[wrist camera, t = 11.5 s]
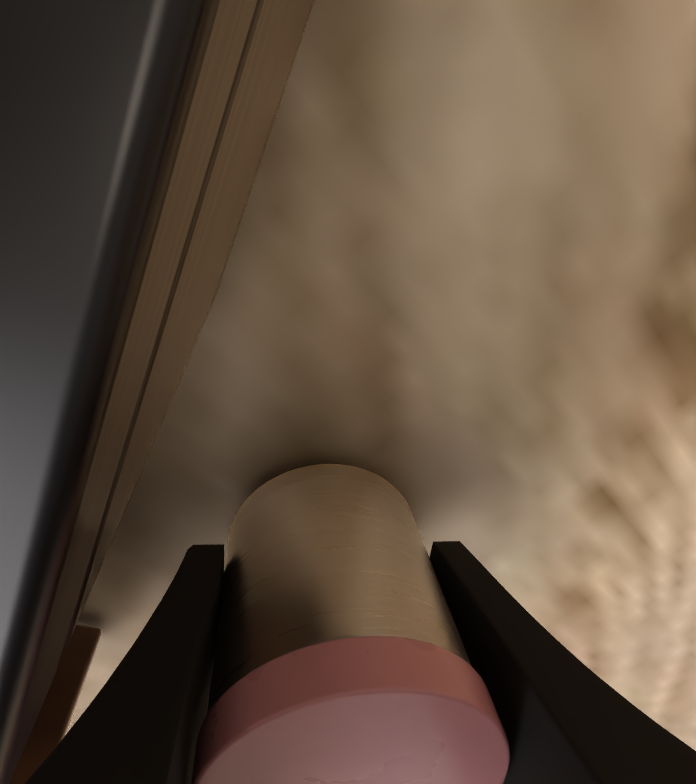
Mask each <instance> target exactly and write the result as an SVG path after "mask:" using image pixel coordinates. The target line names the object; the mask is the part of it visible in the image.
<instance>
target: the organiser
mask: <svg viewBox="0 0 696 784" xmlns="http://www.w3.org/2000/svg"><path fill="white" fill-rule="evenodd" d="M313 3H314V0H0V784H10V781H11V779H12V776H13V774H14V772H15V769H16V767H17V765H18V762H19V760H20V757H21V755H22V753H23V750H24V748H25V746H26V743H27V741H28V738H29V736H30V734H31V731H32V729H33V727H34V724H35V722H36V719H37V717H38V715H39V712H40V710H41V708H42V705H43V703H44V700H45V698H46V696H47V693H48V691H49V689H50V686H51V684H52V682H53V679H54V676H55V673H56V670H57V666H58V663H59V660H60V656H61V653H62V650H63V649H64V648H65V647H66V646H67V645H68V643H69V641H70V639H71V636H72V634H73V631H74V629H75V627H76V624H77V622H78V620H79V617H80V615H81V612H82V610H83V608H84V605H85V603H86V601H87V598H88V596H89V593H90V591H91V589H92V586H93V584H94V582H95V579H96V577H97V575H98V572H99V570H100V567H101V565H102V563H103V560H104V558H105V556H106V553H107V551H108V548H109V546H110V544H111V541H112V539H113V537H114V534H115V532H116V529H117V527H118V525H119V522H120V520H121V518H122V515H123V513H124V511H125V508H126V506H127V503H128V501H129V499H130V496H131V494H132V492H133V489H134V487H135V484H136V482H137V480H138V477H139V475H140V473H141V470H142V468H143V465H144V463H145V461H146V458H147V456H148V454H149V451H150V449H151V447H152V444H153V442H154V439H155V437H156V435H157V432H158V430H159V428H160V425H161V423H162V420H163V418H164V416H165V413H166V411H167V409H168V406H169V404H170V401H171V399H172V397H173V394H174V392H175V390H176V387H177V385H178V382H179V380H180V378H181V375H182V373H183V371H184V368H185V366H186V364H187V361H188V359H189V356H190V354H191V352H192V349H193V347H194V345H195V342H196V340H197V337H198V335H199V333H200V330H201V328H202V326H203V323H204V321H205V318H206V316H207V314H208V311H209V309H210V307H211V304H212V302H213V300H214V297H215V294H216V291H217V288H218V285H219V282H220V279H221V276H222V273H223V270H224V267H225V264H226V261H227V258H228V256H229V253H230V250H231V247H232V244H233V241H234V238H235V235H236V232H237V229H238V226H239V223H240V220H241V217H242V214H243V211H244V208H245V205H246V202H247V199H248V196H249V193H250V190H251V187H252V184H253V181H254V178H255V175H256V172H257V169H258V166H259V163H260V160H261V157H262V154H263V151H264V148H265V145H266V142H267V139H268V136H269V134H270V131H271V128H272V125H273V122H274V119H275V116H276V113H277V110H278V107H279V104H280V101H281V98H282V95H283V92H284V89H285V86H286V83H287V80H288V77H289V74H290V71H291V68H292V65H293V62H294V59H295V56H296V53H297V50H298V47H299V44H300V41H301V38H302V35H303V32H304V29H305V26H306V23H307V20H308V17H309V14H310V12H311V9H312V6H313Z"/></svg>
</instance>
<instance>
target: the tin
mask: <svg viewBox="0 0 696 784" xmlns="http://www.w3.org/2000/svg"><path fill="white" fill-rule="evenodd" d="M509 762H510V752H509V743H508V740H507V736H506V733H505V731H504V728H503V726H502V723H501V721H500V718H499V716H498V713H497V711H496V708H495V706H494V703H493V701H492V699H491V696H490V694H489V691H488V689H487V686H486V685H485V683H484V681H483V679H482V678H481V676H480V675H479V674H478V673H477V672H476V671H475V669H474V668H473V667H472V666H471V663H470V661H469V658H468V655H467V653H466V650H465V648H464V645H463V643H462V640H461V638H460V635H459V632H458V630H457V627H456V625H455V622H454V620H453V617H452V615H451V612H450V609H449V607H448V604H447V602H446V599H445V597H444V594H443V592H442V589H441V586H440V584H439V581H438V579H437V576H436V574H435V571H434V569H433V566H432V563H431V561H430V558H429V556H428V553H427V551H426V548H425V546H424V543H423V540H422V538H421V535H420V533H419V530H418V528H417V525H416V523H415V520H414V517H413V515H412V512H411V510H410V507H409V506H408V504H407V502H406V500H405V498H404V497H403V496H402V495H401V493H400V492H399V491H398V490H397V489H396V488H395V487H394V486H393V485H392V484H390V483H389V482H388V481H386V480H385V479H383V478H382V477H380V476H378V475H376V474H374V473H372V472H370V471H367V470H364V469H362V468H358V467H354V466H349V465H341V464H318V465H310V466H305V467H301V468H297V469H294V470H291V471H288V472H285V473H283V474H281V475H279V476H277V477H275V478H273V479H271V480H269V481H268V482H266V483H265V484H263V485H262V486H260V487H259V488H258V489H257V490H256V491H254V492H253V493H252V494H251V495H250V496H249V497H248V498H247V499H246V501H245V502H244V503H243V504H242V506H241V507H240V508H239V510H238V511H237V513H236V515H235V517H234V519H233V521H232V524H231V527H230V530H229V535H228V542H227V550H226V559H225V567H224V577H223V585H222V594H221V602H220V610H219V618H218V626H217V634H216V642H215V651H214V659H213V667H212V676H211V684H210V692H209V701H208V709H207V716H206V718H205V720H204V721H203V723H202V726H201V728H200V731H199V734H198V737H197V744H196V751H195V758H194V766H193V774H192V781H191V784H503V783H504V780H505V777H506V775H507V772H508V767H509Z"/></svg>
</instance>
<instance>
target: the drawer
mask: <svg viewBox="0 0 696 784" xmlns="http://www.w3.org/2000/svg"><path fill="white" fill-rule="evenodd" d="M100 636H101V629H99V628H94V627H88V626H82V625H76V627H75V629H74V631H73V634H72V636H71V639H70V641H69V643H68V645H67V646H66V647H65V648H64V649H63V650H62V653H61V656H60V660H59V663H58V666H57V670H56V673H55V676H54V679H53V682H52V684H51V686H50V689H49V691H48V693H47V696H46V698H45V700H44V703H43V705H42V708H41V710H40V712H39V715H38V717H37V719H36V722H35V724H34V727H33V729H32V731H31V734H30V736H29V738H28V741H27V743H26V746H25V748H24V750H23V753H22V755H21V757H20V760H19V762H18V765H17V767H16V769H15V772H14V774H13V776H12V779H11V781H10V784H25V782H26V781H27V780H28V779H29V778H30V777H31V775H32V774H33V773H34V772H35V771H36V770H37V768H38V767H39V766H40V765H41V764H42V763H43V762H44V760H45V759H46V758H47V757H48V756H49V755H50V753H51V752H52V751H53V750H54V749H55V748H56V746H57V745H58V744H59V743H60V741H61V740H62V739H63V738H64V737H65V734H66V731H67V728H68V726H69V723H70V720H71V717H72V715H73V712H74V709H75V706H76V703H77V701H78V698H79V695H80V692H81V690H82V687H83V684H84V681H85V678H86V676H87V673H88V670H89V667H90V665H91V662H92V659H93V656H94V653H95V650H96V647H97V644H98V641H99V639H100Z"/></svg>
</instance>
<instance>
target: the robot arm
mask: <svg viewBox="0 0 696 784" xmlns="http://www.w3.org/2000/svg"><path fill="white" fill-rule="evenodd" d="M430 561H431V563H432V566H433V569H434V571H435V574H436V576H437V579H438V581H439V584H440V586H441V589H442V592H443V594H444V597H445V599H446V602H447V604H448V607H449V609H450V612H451V615H452V617H453V620H454V622H455V625H456V627H457V630H458V632H459V635H460V638H461V640H462V643H463V645H464V648H465V650H466V653H467V655H468V658H469V661H470V663H471V666H472V667H473V668H474V669H475V671H476V672H477V673H478V674H479V675H480V676H481V678H482V679H483V681H484V683H485V685H486V686H487V689H488V691H489V694H490V696H491V699H492V701H493V703H494V706H495V708H496V711H497V713H498V716H499V718H500V721H501V723H502V726H503V728H504V731H505V733H506V736H507V740H508V743H509V752H510V762H509V767H508V772H507V775H506V777H505V780H504V783H503V784H696V751H695V750H693V749H692V748H691V747H689V746H688V745H686V744H685V743H684V742H682V741H681V740H679V739H678V738H677V737H675V736H674V735H673V734H671V733H670V732H668V731H667V730H666V729H664V728H663V727H661V726H660V725H659V724H657V723H656V722H655V721H653V720H652V719H651V718H649V717H648V716H647V715H645V714H644V713H643V712H642V711H640V710H639V709H638V708H636V707H635V706H634V705H632V704H631V703H630V702H629V701H628V700H626V699H625V698H624V697H623V696H621V695H620V694H619V693H618V692H616V691H615V690H614V689H613V688H611V687H610V686H609V685H608V684H607V683H605V682H604V681H603V680H602V679H600V678H599V677H598V676H597V675H596V674H594V673H593V672H592V671H591V670H590V669H589V668H587V667H586V666H585V665H584V664H583V663H582V662H581V661H579V660H578V659H577V658H576V657H575V656H574V655H573V654H572V653H571V652H570V651H568V650H567V649H566V648H565V647H564V646H563V645H562V644H561V643H560V642H559V641H557V640H556V639H555V638H554V637H553V636H552V635H551V634H550V633H549V632H548V631H547V630H546V629H545V628H544V627H543V626H542V625H540V624H539V623H538V622H537V621H536V620H535V619H534V618H533V617H532V616H531V615H530V614H529V613H528V612H527V611H526V610H525V609H524V608H523V607H522V606H521V605H520V604H519V603H518V602H517V601H516V600H515V599H514V598H513V597H512V596H511V595H510V594H509V593H508V592H507V590H506V589H505V588H504V587H503V586H502V585H501V584H500V583H499V582H498V581H497V580H496V579H495V578H494V577H493V576H492V575H491V574H490V573H489V572H488V571H487V570H486V568H485V567H484V566H483V565H482V564H481V563H480V562H479V561H478V560H477V559H476V558H475V557H474V556H473V555H472V554H471V553H470V552H469V550H468V549H467V548H466V547H465V546H464V545H463V544H462V543H461V542H460V541H443V542H433V545H432V549H431V554H430ZM223 577H224V544H218V545H193V546H191V547H190V548H189V549H188V550H187V552H186V554H185V557H184V559H183V561H182V563H181V565H180V567H179V569H178V571H177V573H176V575H175V577H174V579H173V580H172V582H171V584H170V586H169V588H168V589H167V591H166V593H165V595H164V596H163V598H162V600H161V602H160V603H159V605H158V606H157V608H156V610H155V611H154V613H153V614H152V616H151V618H150V619H149V621H148V622H147V624H146V626H145V627H144V629H143V630H142V632H141V633H140V635H139V637H138V638H137V640H136V641H135V643H134V644H133V646H132V647H131V648H130V650H129V651H128V653H127V654H126V655H125V657H124V658H123V660H122V661H121V663H120V664H119V665H118V667H117V668H116V670H115V671H114V673H113V674H112V675H111V677H110V678H109V680H108V681H107V682H106V684H105V685H104V687H103V688H102V689H101V691H100V692H99V693H98V695H97V696H96V697H95V698H94V700H93V701H92V702H91V704H90V705H89V706H88V708H87V709H86V710H85V712H84V713H83V714H82V715H81V717H80V718H79V719H78V720H77V722H76V723H75V724H74V725H73V727H72V728H71V729H70V730H69V732H68V733H67V734H66V735H65V737H64V738H63V739H62V740H61V741H60V743H59V744H58V745H57V746H56V748H55V749H54V750H53V751H52V752H51V753H50V755H49V756H48V757H47V758H46V759H45V760H44V762H43V763H42V764H41V765H40V766H39V767H38V768H37V770H36V771H35V772H34V773H33V774H32V775H31V777H30V778H29V779H28V780H27V781H26V782H25V784H191V781H192V774H193V766H194V758H195V751H196V744H197V737H198V734H199V731H200V728H201V726H202V723H203V721H204V720H205V718H206V716H207V709H208V701H209V692H210V684H211V676H212V667H213V659H214V651H215V642H216V634H217V626H218V618H219V610H220V602H221V594H222V585H223Z"/></svg>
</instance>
